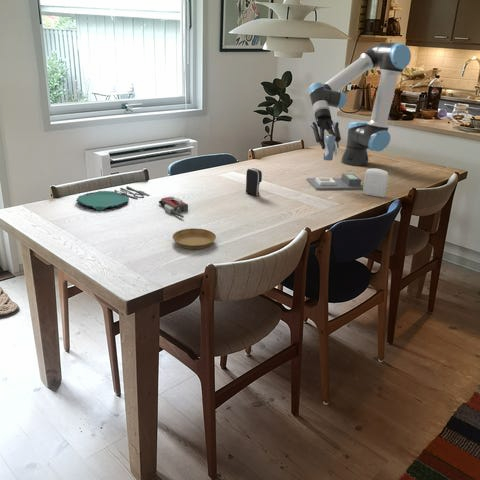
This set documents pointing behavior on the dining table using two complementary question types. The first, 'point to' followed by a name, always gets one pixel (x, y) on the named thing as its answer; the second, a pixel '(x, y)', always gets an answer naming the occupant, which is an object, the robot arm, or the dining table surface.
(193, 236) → the plant saucer
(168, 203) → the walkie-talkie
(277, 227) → the dining table surface
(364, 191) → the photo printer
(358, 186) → the cell checker
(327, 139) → the cell
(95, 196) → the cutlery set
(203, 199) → the dining table surface
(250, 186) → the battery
